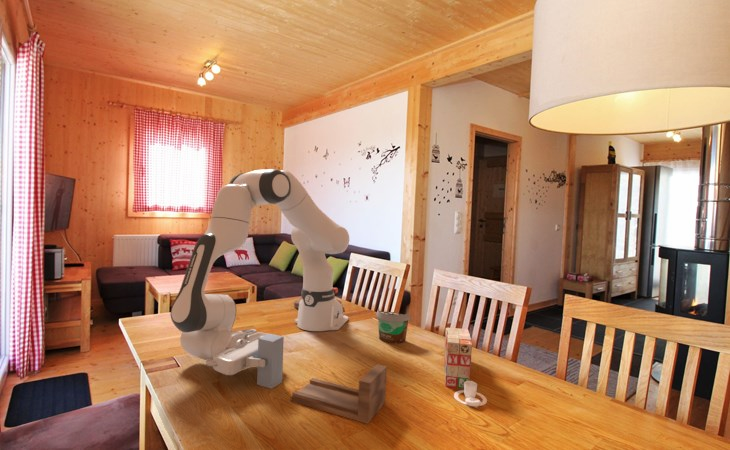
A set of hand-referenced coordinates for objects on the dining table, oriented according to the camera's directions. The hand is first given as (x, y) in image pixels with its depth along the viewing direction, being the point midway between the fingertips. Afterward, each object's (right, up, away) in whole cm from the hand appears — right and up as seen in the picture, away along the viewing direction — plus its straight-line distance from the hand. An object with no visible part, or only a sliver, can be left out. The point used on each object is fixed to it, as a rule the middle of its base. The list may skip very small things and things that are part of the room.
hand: (273, 359), depth 102 cm
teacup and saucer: (+47, -9, -4) cm, 48 cm away
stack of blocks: (+50, -8, +13) cm, 52 cm away
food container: (+32, -6, +35) cm, 48 cm away
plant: (+3, -2, +73) cm, 73 cm away
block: (-1, -6, +1) cm, 7 cm away
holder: (+17, -8, -7) cm, 20 cm away
